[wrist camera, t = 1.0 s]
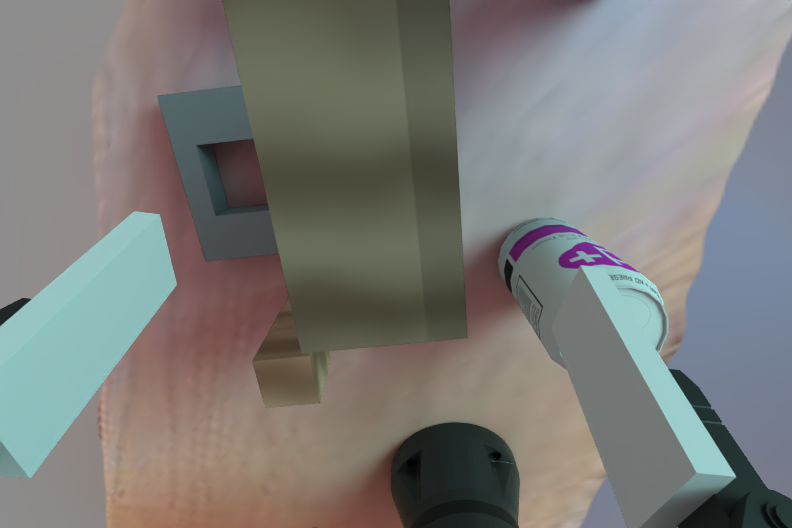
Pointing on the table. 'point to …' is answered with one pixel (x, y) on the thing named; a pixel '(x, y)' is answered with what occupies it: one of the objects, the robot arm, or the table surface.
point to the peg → (289, 366)
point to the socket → (215, 171)
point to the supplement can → (570, 278)
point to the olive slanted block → (358, 164)
